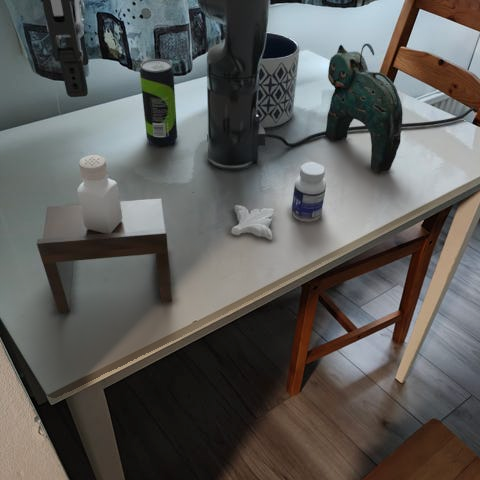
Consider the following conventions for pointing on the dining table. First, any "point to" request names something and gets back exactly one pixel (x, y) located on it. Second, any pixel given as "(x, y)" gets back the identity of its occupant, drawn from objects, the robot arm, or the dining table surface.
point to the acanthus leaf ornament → (253, 221)
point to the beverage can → (159, 101)
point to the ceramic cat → (364, 106)
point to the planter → (277, 80)
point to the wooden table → (102, 244)
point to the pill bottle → (309, 192)
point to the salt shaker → (98, 196)
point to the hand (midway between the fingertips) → (79, 79)
